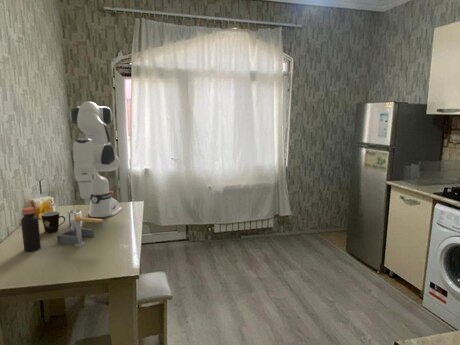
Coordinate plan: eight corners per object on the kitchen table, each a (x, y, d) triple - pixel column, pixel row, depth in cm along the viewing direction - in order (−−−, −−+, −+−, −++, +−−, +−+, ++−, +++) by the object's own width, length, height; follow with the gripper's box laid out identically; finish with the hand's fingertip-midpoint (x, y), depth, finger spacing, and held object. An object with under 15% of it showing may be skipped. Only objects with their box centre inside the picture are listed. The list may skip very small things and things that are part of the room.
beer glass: (65, 241, 159) (63, 213, 157) (74, 236, 166) (72, 209, 164) (78, 242, 158) (76, 213, 156) (86, 237, 165) (84, 209, 163)
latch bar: (73, 225, 153) (73, 217, 152) (77, 223, 155) (77, 216, 155) (101, 228, 149) (100, 220, 149) (104, 226, 152) (104, 218, 151)
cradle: (74, 234, 169) (72, 212, 167) (97, 237, 166) (96, 214, 164) (55, 243, 157) (53, 219, 154) (80, 246, 154) (78, 222, 151)
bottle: (20, 250, 149) (16, 209, 145) (34, 245, 155) (30, 205, 151) (30, 253, 146) (26, 211, 143) (44, 247, 152) (40, 207, 149)
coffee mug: (39, 232, 172) (37, 214, 171) (54, 227, 180) (52, 210, 178) (52, 236, 167) (51, 217, 165) (67, 231, 174) (66, 213, 173)
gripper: (79, 171, 151) (81, 199, 154) (75, 178, 133) (78, 210, 135) (93, 170, 154) (95, 198, 156) (92, 177, 135) (94, 208, 137)
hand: (87, 203), depth 145 cm, fingers closed
